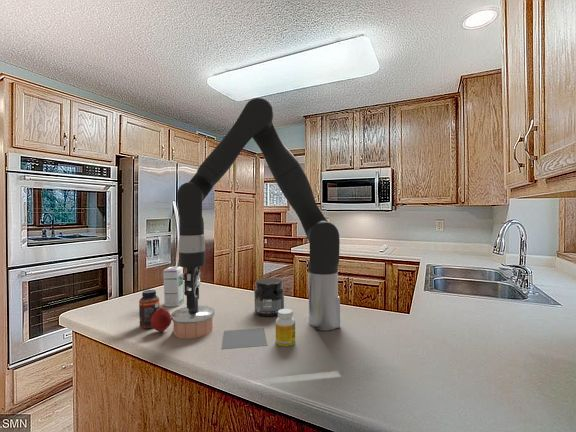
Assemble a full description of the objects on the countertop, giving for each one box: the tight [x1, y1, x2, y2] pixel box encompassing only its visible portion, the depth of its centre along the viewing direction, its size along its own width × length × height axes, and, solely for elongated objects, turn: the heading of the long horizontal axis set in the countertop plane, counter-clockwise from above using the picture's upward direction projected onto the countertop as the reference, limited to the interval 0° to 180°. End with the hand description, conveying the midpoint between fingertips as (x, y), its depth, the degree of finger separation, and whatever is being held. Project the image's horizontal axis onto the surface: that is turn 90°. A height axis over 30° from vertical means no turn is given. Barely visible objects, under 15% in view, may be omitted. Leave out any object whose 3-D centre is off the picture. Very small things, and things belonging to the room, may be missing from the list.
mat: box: [221, 327, 268, 350], centre depth 86 cm, size 12×12×1 cm
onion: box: [151, 305, 172, 333], centre depth 93 cm, size 6×6×8 cm
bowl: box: [172, 316, 214, 339], centre depth 92 cm, size 11×11×6 cm
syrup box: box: [162, 265, 185, 307], centre depth 120 cm, size 6×6×14 cm
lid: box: [170, 294, 216, 323], centre depth 91 cm, size 12×12×6 cm
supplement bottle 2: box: [275, 308, 296, 348], centre depth 83 cm, size 5×5×10 cm
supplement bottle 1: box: [138, 289, 160, 330], centre depth 98 cm, size 6×6×11 cm
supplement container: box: [253, 277, 285, 318], centre depth 107 cm, size 10×10×12 cm
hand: (193, 303), depth 91 cm, fingers open, 8 cm apart
